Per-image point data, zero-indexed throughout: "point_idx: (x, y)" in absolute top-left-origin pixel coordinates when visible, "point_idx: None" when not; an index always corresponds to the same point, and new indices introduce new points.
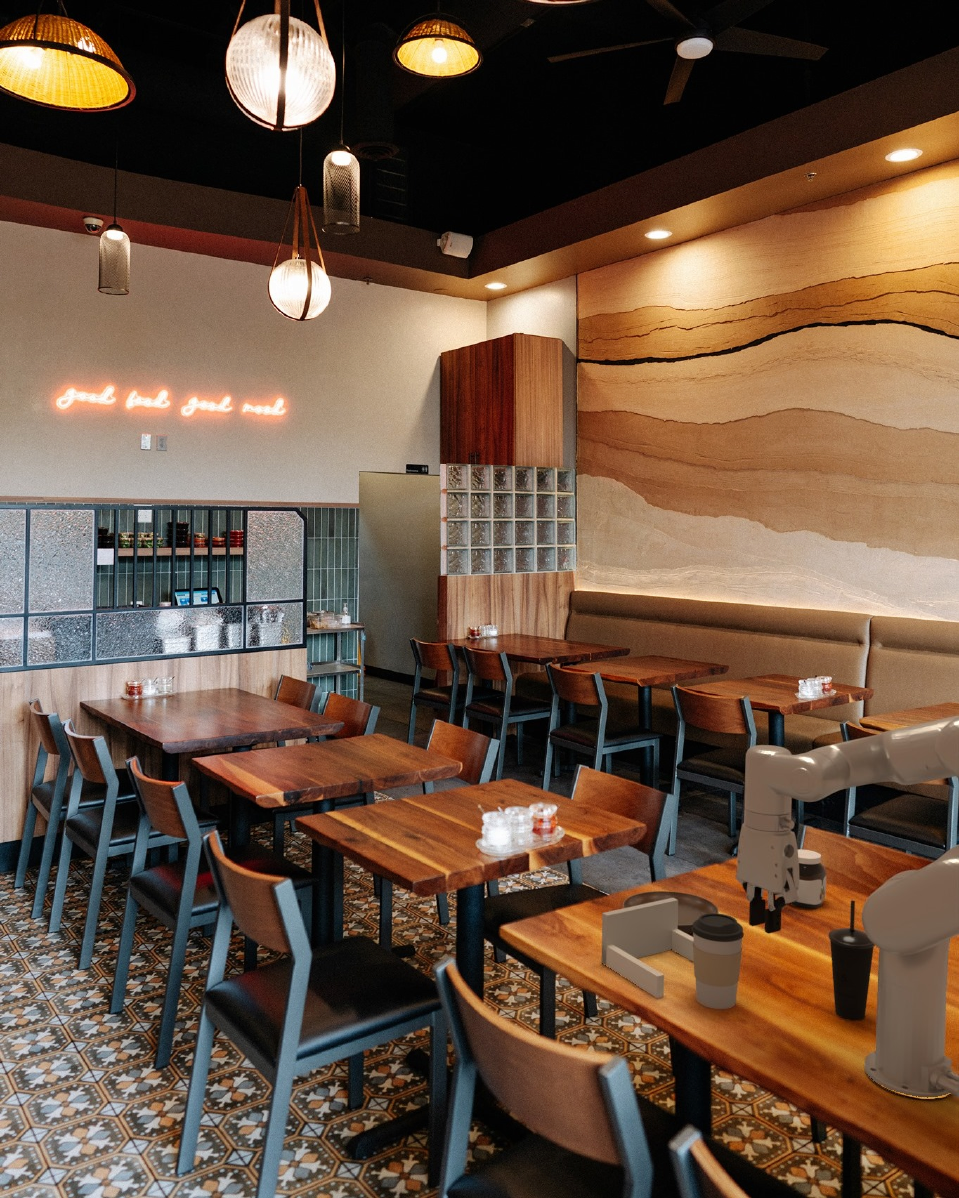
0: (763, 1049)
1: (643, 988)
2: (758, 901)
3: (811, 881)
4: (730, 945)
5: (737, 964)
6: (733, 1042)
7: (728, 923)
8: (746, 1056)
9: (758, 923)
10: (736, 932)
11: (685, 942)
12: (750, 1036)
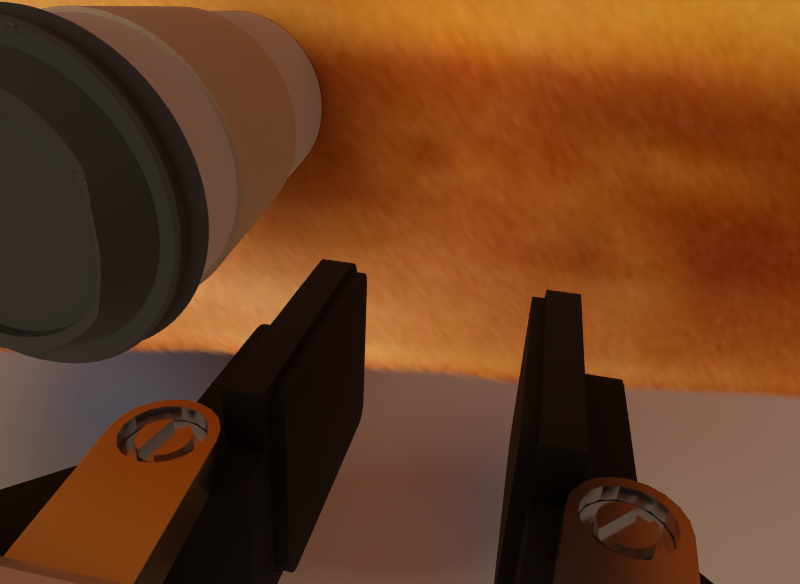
0: (625, 271)
1: None
2: (269, 510)
3: None
4: (212, 237)
5: (259, 126)
6: (520, 314)
7: (40, 179)
8: (613, 355)
9: (360, 355)
10: (154, 194)
11: None
12: (531, 231)
